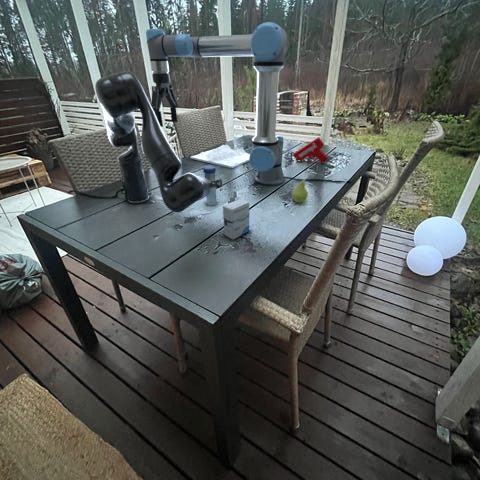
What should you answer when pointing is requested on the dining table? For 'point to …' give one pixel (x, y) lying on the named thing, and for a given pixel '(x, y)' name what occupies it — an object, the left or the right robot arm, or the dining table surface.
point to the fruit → (300, 192)
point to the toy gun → (311, 151)
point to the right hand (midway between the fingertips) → (167, 124)
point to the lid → (209, 169)
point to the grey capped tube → (212, 193)
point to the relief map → (223, 156)
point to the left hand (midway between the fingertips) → (204, 184)
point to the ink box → (236, 218)
